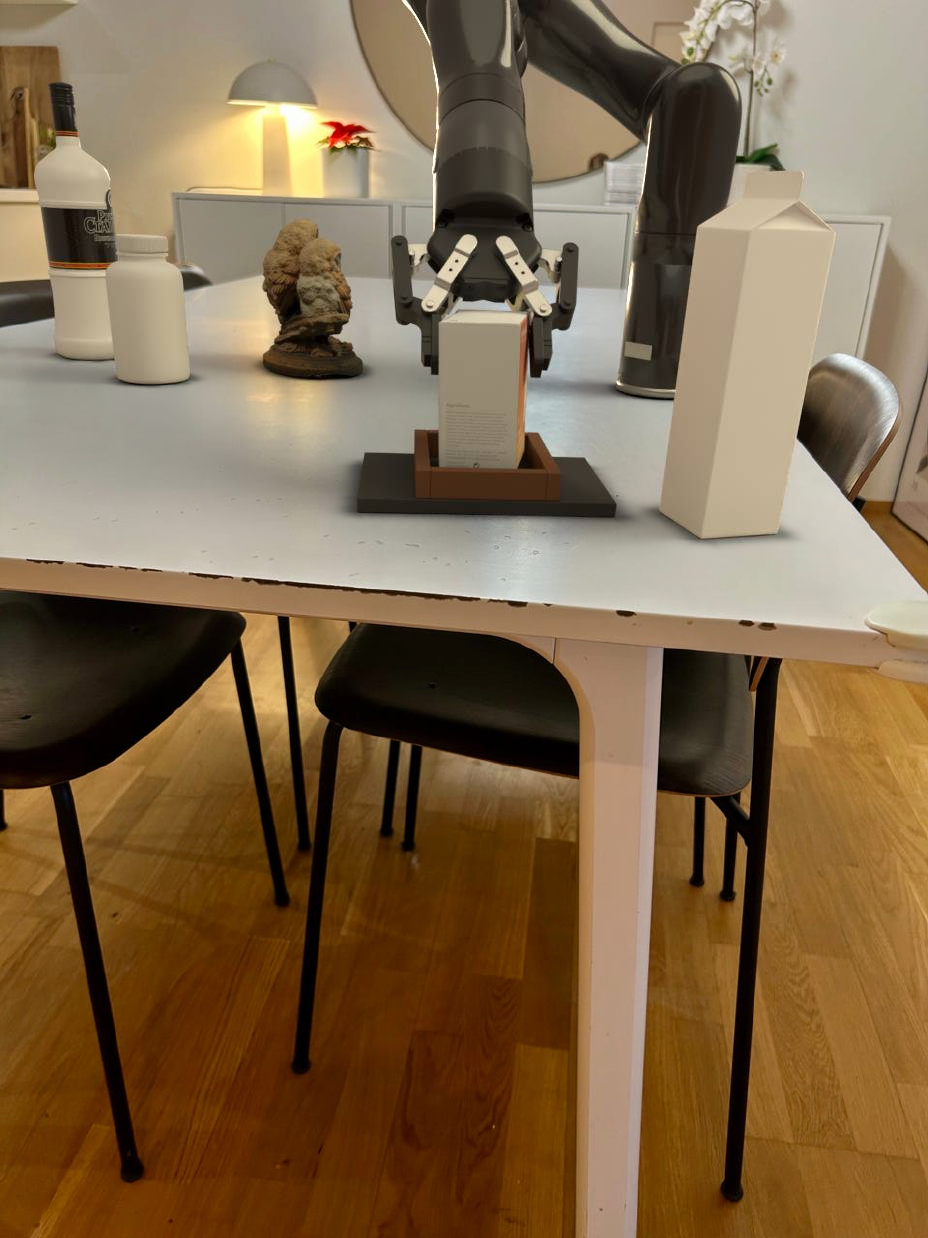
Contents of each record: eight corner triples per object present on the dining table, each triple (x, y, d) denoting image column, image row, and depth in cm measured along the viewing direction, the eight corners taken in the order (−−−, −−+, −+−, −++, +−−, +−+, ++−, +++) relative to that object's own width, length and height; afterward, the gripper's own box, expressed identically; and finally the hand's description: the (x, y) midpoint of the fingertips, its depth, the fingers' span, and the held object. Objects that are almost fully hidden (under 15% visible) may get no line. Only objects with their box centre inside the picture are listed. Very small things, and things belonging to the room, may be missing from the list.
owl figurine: (386, 378, 108) (387, 222, 100) (291, 383, 102) (284, 219, 95) (333, 355, 122) (330, 217, 115) (247, 358, 117) (238, 214, 109)
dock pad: (583, 468, 74) (587, 432, 73) (615, 517, 63) (620, 475, 62) (364, 464, 73) (364, 427, 72) (357, 512, 62) (356, 469, 61)
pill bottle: (206, 379, 103) (195, 236, 97) (149, 388, 97) (133, 237, 91) (158, 370, 107) (145, 232, 101) (101, 378, 101) (83, 232, 94)
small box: (515, 480, 63) (521, 323, 59) (436, 475, 64) (437, 320, 60) (525, 451, 70) (532, 309, 66) (455, 447, 71) (456, 307, 67)
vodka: (72, 348, 119) (35, 84, 106) (143, 350, 119) (115, 88, 106) (44, 359, 110) (0, 75, 98) (121, 362, 111) (87, 79, 98)
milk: (700, 540, 60) (757, 167, 50) (657, 511, 65) (702, 169, 55) (780, 534, 61) (849, 172, 52) (731, 506, 66) (787, 172, 57)
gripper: (567, 225, 73) (578, 403, 67) (388, 217, 72) (383, 397, 66) (585, 148, 66) (599, 340, 60) (387, 138, 65) (382, 332, 59)
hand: (486, 369), depth 63 cm, fingers closed on small box, 6 cm apart
